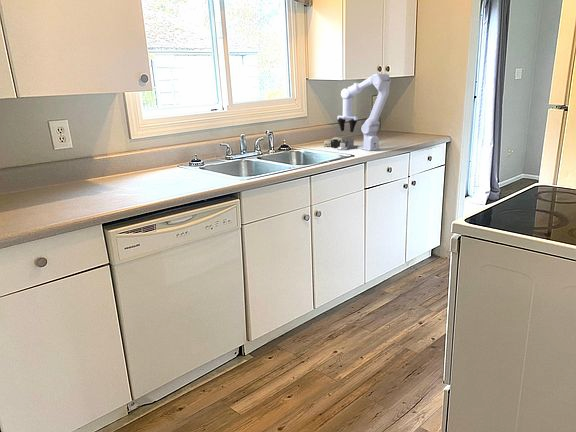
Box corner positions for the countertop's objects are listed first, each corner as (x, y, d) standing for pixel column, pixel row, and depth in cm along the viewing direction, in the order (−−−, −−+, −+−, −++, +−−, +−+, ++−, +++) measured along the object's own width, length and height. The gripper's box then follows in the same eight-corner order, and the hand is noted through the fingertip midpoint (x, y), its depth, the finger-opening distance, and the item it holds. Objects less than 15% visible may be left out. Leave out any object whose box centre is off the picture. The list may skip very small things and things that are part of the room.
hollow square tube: (353, 146, 291) (353, 138, 289) (348, 147, 287) (348, 139, 286) (347, 145, 294) (347, 137, 293) (342, 146, 291) (342, 138, 289)
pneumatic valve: (325, 145, 300) (344, 144, 297) (323, 149, 289) (342, 147, 286) (325, 137, 298) (343, 135, 295) (322, 140, 287) (342, 138, 285)
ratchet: (341, 150, 277) (341, 144, 276) (335, 149, 282) (335, 142, 281) (358, 148, 283) (359, 141, 282) (353, 147, 288) (353, 140, 287)
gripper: (334, 108, 287) (334, 131, 291) (352, 110, 276) (351, 133, 281) (341, 108, 291) (341, 130, 295) (359, 109, 281) (359, 131, 285)
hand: (347, 131), depth 288 cm, fingers open, 7 cm apart
